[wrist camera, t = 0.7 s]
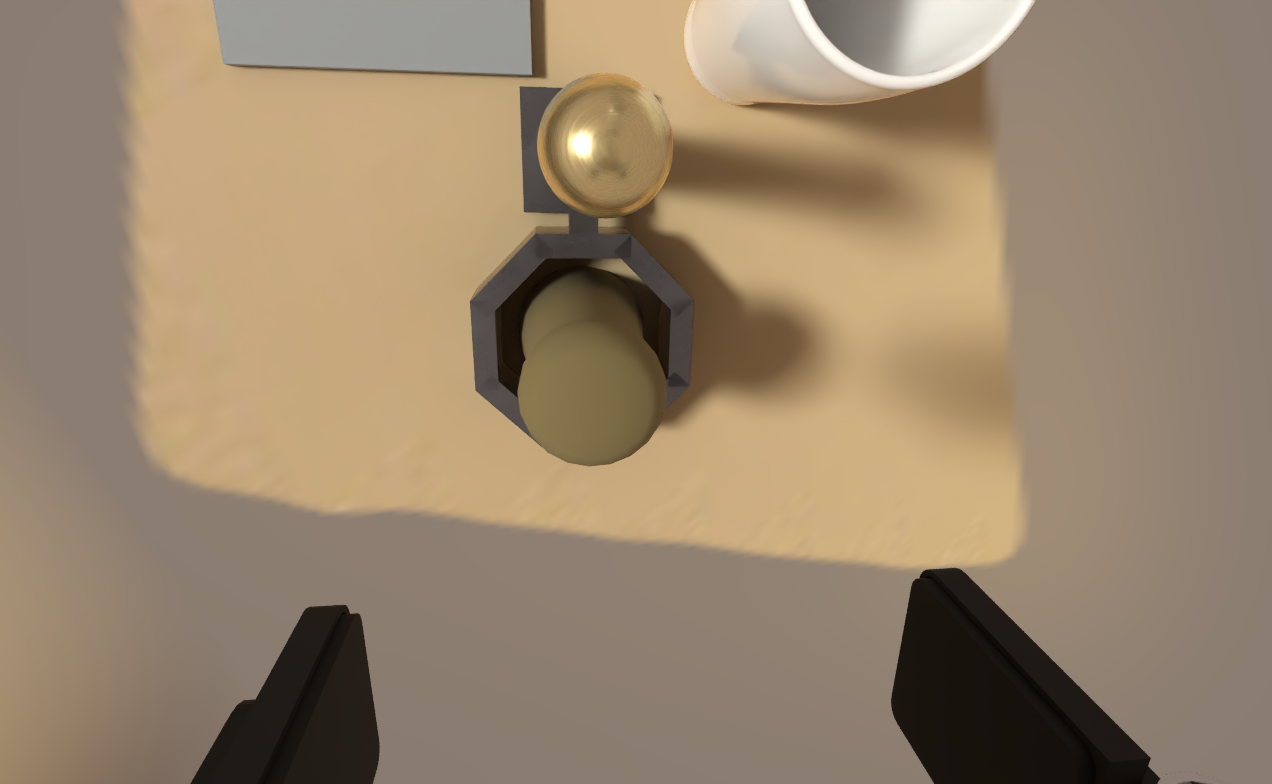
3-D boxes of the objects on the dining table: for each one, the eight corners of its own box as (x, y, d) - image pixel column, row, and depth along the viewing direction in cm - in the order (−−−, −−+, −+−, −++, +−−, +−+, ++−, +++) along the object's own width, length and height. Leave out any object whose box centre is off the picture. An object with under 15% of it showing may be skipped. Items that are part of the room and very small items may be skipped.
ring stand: (465, 86, 28) (363, 2, 13) (689, 94, 29) (841, 25, 14) (485, 424, 33) (429, 651, 18) (675, 419, 34) (775, 628, 19)
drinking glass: (814, -62, 28) (1086, -291, 14) (821, 112, 30) (1059, 71, 16) (655, -42, 27) (766, -256, 13) (674, 133, 30) (785, 111, 15)
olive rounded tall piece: (545, 245, 30) (541, 290, 20) (663, 294, 32) (716, 360, 22) (499, 362, 32) (475, 460, 22) (614, 404, 33) (642, 514, 23)
